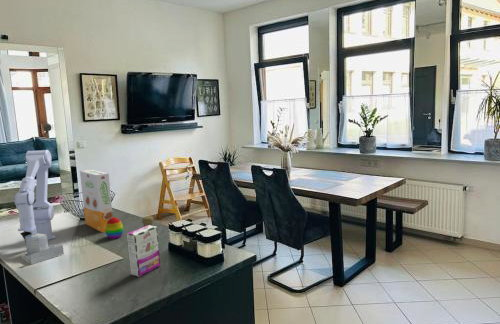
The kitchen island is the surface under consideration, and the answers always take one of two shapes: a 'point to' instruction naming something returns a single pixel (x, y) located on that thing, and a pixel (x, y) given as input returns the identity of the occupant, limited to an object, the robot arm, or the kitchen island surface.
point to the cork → (147, 221)
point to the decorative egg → (114, 228)
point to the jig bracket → (43, 254)
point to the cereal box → (96, 198)
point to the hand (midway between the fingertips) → (30, 246)
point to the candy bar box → (143, 250)
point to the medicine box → (36, 243)
